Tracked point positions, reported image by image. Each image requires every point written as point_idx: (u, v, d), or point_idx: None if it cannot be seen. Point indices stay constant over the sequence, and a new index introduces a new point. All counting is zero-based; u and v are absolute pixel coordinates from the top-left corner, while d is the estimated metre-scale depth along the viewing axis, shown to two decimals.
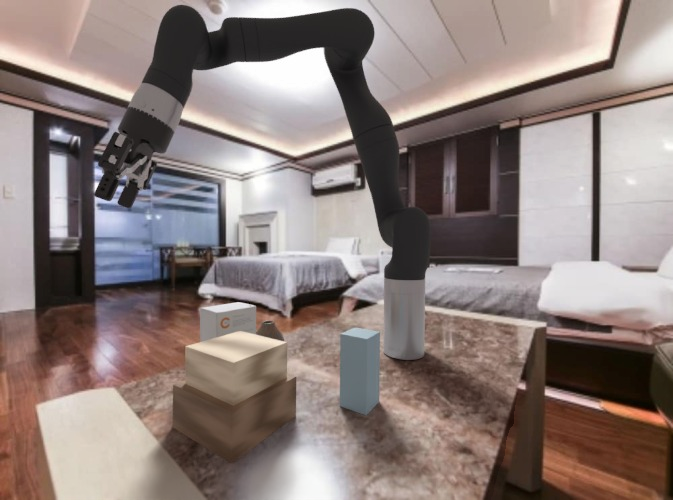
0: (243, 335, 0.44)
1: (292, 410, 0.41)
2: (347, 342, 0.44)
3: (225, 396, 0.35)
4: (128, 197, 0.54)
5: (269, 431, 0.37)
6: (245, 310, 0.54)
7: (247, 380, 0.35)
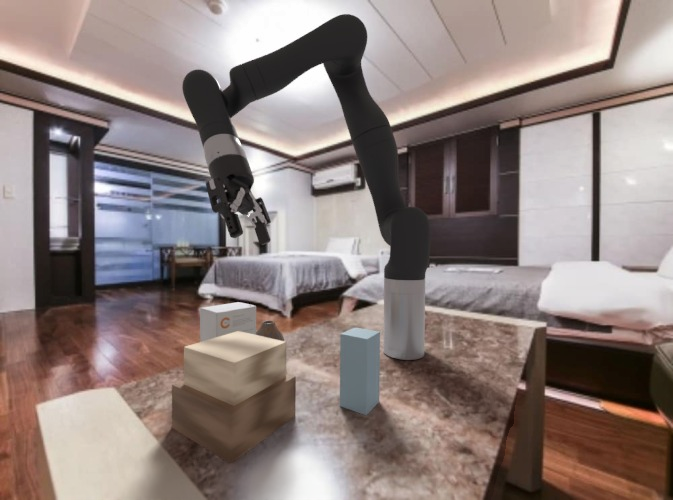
0: (241, 335, 0.44)
1: (291, 410, 0.41)
2: (347, 342, 0.44)
3: (225, 396, 0.35)
4: (262, 233, 0.57)
5: (268, 431, 0.37)
6: (245, 310, 0.54)
7: (248, 380, 0.36)
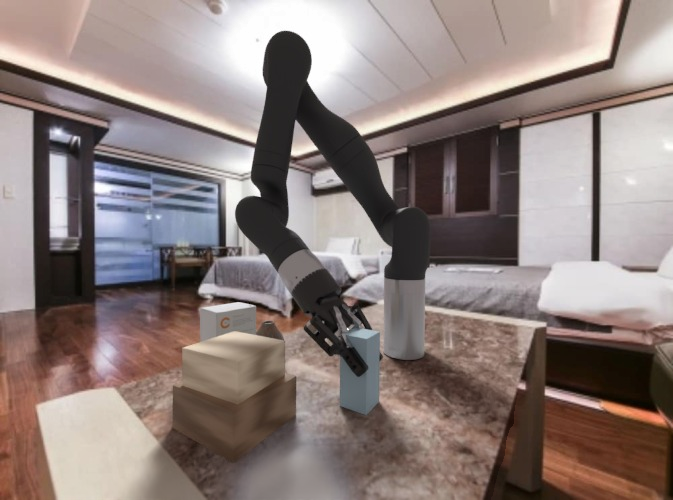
0: (239, 335, 0.44)
1: (292, 409, 0.41)
2: None
3: (228, 395, 0.35)
4: None
5: (269, 431, 0.38)
6: (245, 310, 0.54)
7: (250, 379, 0.36)
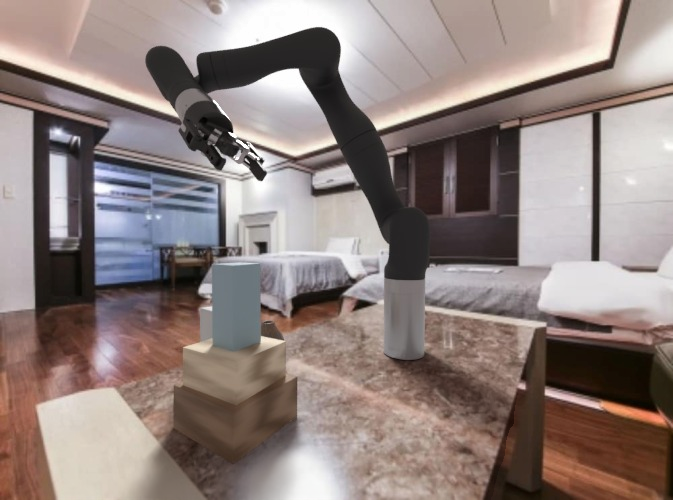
0: None
1: (293, 410, 0.41)
2: (217, 272, 0.39)
3: (227, 396, 0.35)
4: (257, 169, 0.53)
5: (270, 432, 0.37)
6: None
7: (249, 379, 0.36)
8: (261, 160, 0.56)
